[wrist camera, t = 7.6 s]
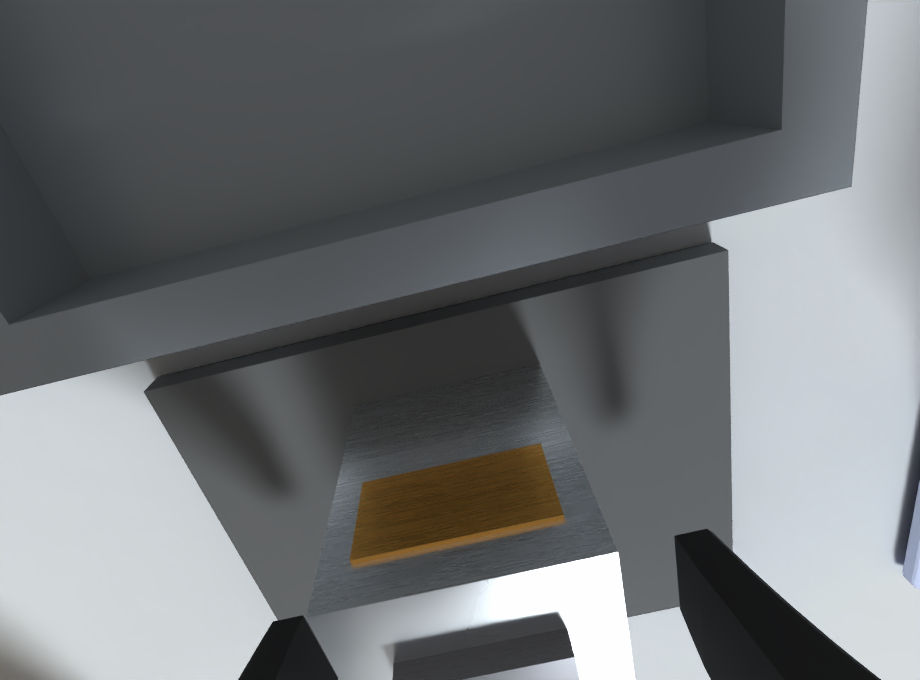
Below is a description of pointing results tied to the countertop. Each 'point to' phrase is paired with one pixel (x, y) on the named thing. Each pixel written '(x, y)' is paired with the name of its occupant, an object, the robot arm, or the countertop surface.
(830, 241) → the countertop surface
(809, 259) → the countertop surface
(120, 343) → the case
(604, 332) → the grey flat panel
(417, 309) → the countertop surface
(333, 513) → the block
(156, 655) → the countertop surface
